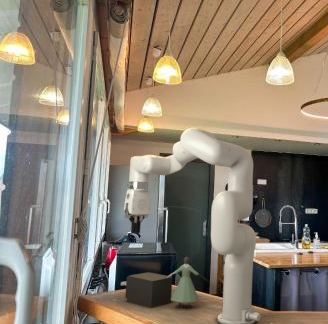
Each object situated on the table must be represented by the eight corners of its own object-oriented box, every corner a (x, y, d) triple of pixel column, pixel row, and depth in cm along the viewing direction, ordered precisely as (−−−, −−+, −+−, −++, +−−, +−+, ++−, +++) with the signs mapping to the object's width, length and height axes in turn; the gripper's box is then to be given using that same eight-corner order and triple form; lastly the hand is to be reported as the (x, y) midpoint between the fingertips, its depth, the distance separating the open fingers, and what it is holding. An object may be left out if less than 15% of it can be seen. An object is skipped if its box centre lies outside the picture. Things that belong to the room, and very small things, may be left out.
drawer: (116, 295, 149) (118, 275, 149) (134, 291, 156) (136, 272, 156) (147, 303, 139) (148, 282, 140) (165, 299, 146) (166, 278, 147)
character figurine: (209, 304, 144) (211, 255, 146) (207, 310, 136) (209, 259, 137) (167, 303, 144) (170, 254, 145) (162, 309, 135) (165, 257, 137)
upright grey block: (126, 301, 144) (128, 275, 145) (146, 296, 153) (148, 272, 153) (151, 307, 137) (152, 281, 138) (171, 302, 145) (172, 276, 146)
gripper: (129, 186, 146) (126, 234, 144) (158, 187, 159) (156, 232, 157) (116, 185, 150) (113, 233, 148) (146, 187, 163) (143, 231, 161)
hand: (135, 232), depth 153 cm, fingers closed
